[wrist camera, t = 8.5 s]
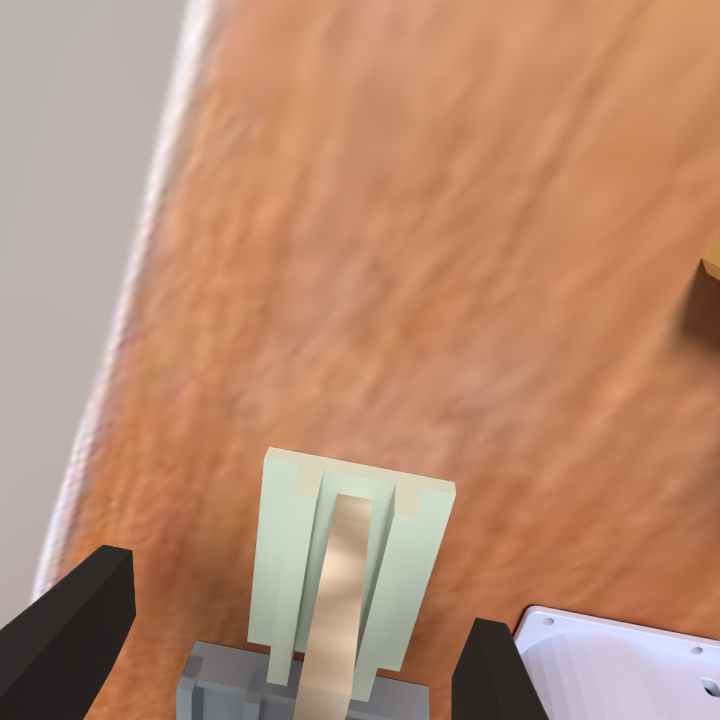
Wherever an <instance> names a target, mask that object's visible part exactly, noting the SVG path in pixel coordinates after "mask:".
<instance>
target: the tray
mask: <svg viewBox="0 0 720 720" xmlns="http://www.w3.org/2000/svg"><path fill="white" fill-rule="evenodd" d="M269 660H270V655H267V654H262V653H257V652H252V651H247V650H242V649H237V648H232V647H227V646H222V645H217V644H212V643H207V642H202V641H197V640H196V642H195V644H194V646H193V649H192V651H191V654H190V656H189V659H188V661H187V663H186V666H185V668H184V671H183V673H182V676H181V678H180V680H179V683H178V685H177V688H176V720H293V715H294V710H295V704H296V698H297V693H298V687H299V682H300V677H301V672H302V667H303V662H302V661H297V660H293V661H292V665H291V670H290V674H289V679H288V683H287V686H284V685H279V684H274V683H269V682H267V676H268V668H269ZM346 716H347V717H352V718H357V719H362V720H430V718H429V687H428V686H423V685H418V684H413V683H408V682H403V681H398V680H393V679H388V678H383V677H378V676H375V679H374V683H373V686H372V690H371V693H370V697H369V700H368V702H364V701H359V700H354V699H350V702H349V706H348V710H347V714H346Z"/></svg>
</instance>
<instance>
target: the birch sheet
mask: <svg viewBox="0 0 720 720" xmlns="http://www.w3.org/2000/svg"><path fill="white" fill-rule="evenodd" d="M372 503H373V500H370V499H365V498H360V497H355V496H350V495H345V494H339V493H338V494H337V499H336V504H335V509H334V514H333V519H332V524H331V529H330V534H329V539H328V544H327V549H326V553H325V558H324V563H323V568H322V573H321V578H320V583H319V588H318V593H317V598H316V603H315V608H314V613H313V618H312V623H311V628H310V632H309V637H308V642H307V647H306V652H305V657H304V662H303V667H302V672H301V677H300V682H299V687H298V693H297V698H296V704H295V710H294V715H293V720H345V717H346V714H347V710H348V706H349V702H350V698H351V693H352V684H353V675H354V666H355V657H356V648H357V639H358V630H359V621H360V612H361V602H362V593H363V584H364V575H365V566H366V557H367V548H368V539H369V530H370V521H371V512H372Z"/></svg>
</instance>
